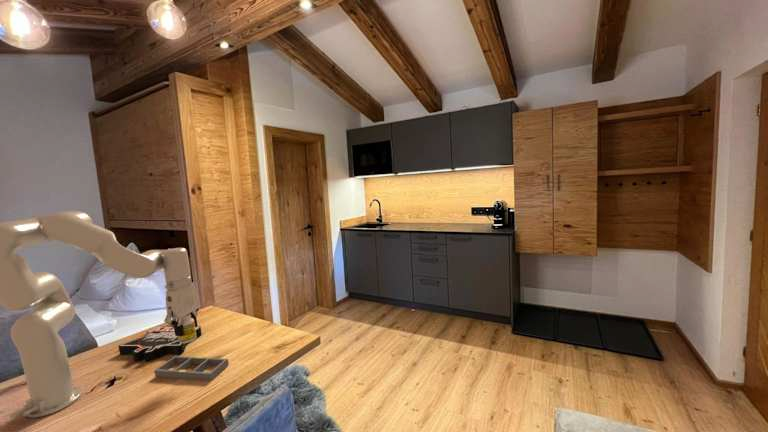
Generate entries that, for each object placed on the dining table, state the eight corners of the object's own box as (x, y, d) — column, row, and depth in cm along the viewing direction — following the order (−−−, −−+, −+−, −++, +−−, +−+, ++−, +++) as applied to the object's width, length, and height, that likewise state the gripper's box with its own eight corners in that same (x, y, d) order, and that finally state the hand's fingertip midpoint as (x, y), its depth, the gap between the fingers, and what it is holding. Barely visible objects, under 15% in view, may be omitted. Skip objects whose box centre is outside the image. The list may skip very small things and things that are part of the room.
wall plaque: (105, 353, 123) (165, 318, 152) (106, 363, 123) (166, 326, 153) (170, 353, 120) (218, 317, 150) (171, 363, 121) (219, 325, 150)
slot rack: (211, 380, 107) (210, 373, 107) (155, 376, 112) (153, 369, 111) (228, 364, 116) (227, 357, 116) (176, 361, 121) (175, 355, 120)
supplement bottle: (191, 335, 116) (187, 310, 115) (199, 337, 113) (196, 312, 112) (176, 342, 111) (172, 316, 110) (184, 345, 109) (180, 319, 108)
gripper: (167, 292, 101) (175, 344, 103) (206, 275, 117) (212, 320, 120) (148, 292, 102) (156, 343, 104) (189, 275, 119) (195, 320, 121)
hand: (186, 330), depth 112 cm, fingers closed on supplement bottle, 5 cm apart
